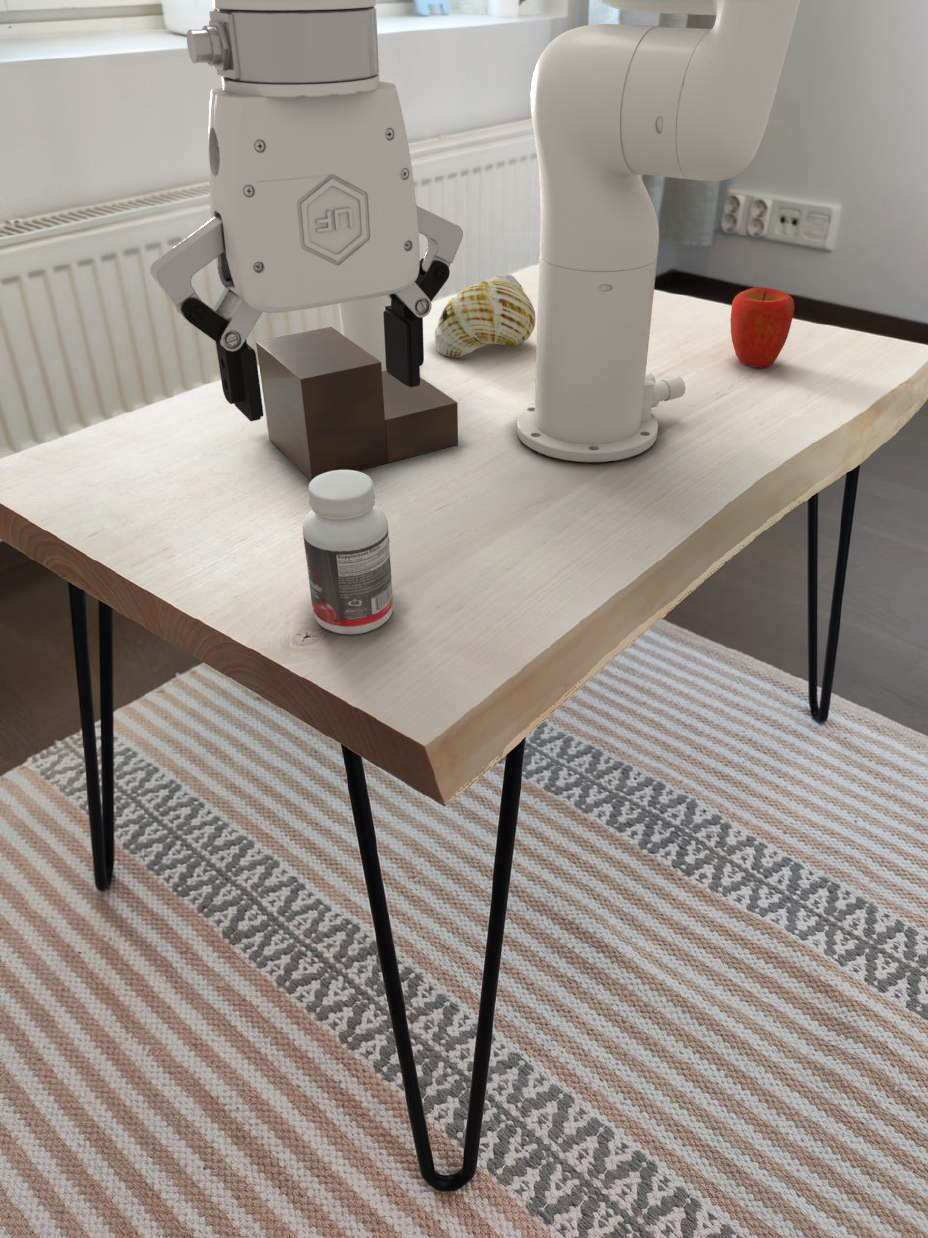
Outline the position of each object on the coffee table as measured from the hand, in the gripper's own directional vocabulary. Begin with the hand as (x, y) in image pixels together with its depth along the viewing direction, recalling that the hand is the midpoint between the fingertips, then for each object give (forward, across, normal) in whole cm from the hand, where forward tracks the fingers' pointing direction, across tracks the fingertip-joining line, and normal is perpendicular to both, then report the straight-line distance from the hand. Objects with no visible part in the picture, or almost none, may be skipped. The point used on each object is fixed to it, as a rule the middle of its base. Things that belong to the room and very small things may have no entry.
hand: (328, 395), depth 56 cm
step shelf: (+15, +13, +24) cm, 31 cm away
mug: (+15, +23, +39) cm, 48 cm away
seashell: (+15, +35, +39) cm, 54 cm away
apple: (+15, +56, +20) cm, 61 cm away
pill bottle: (+16, +1, 0) cm, 16 cm away
